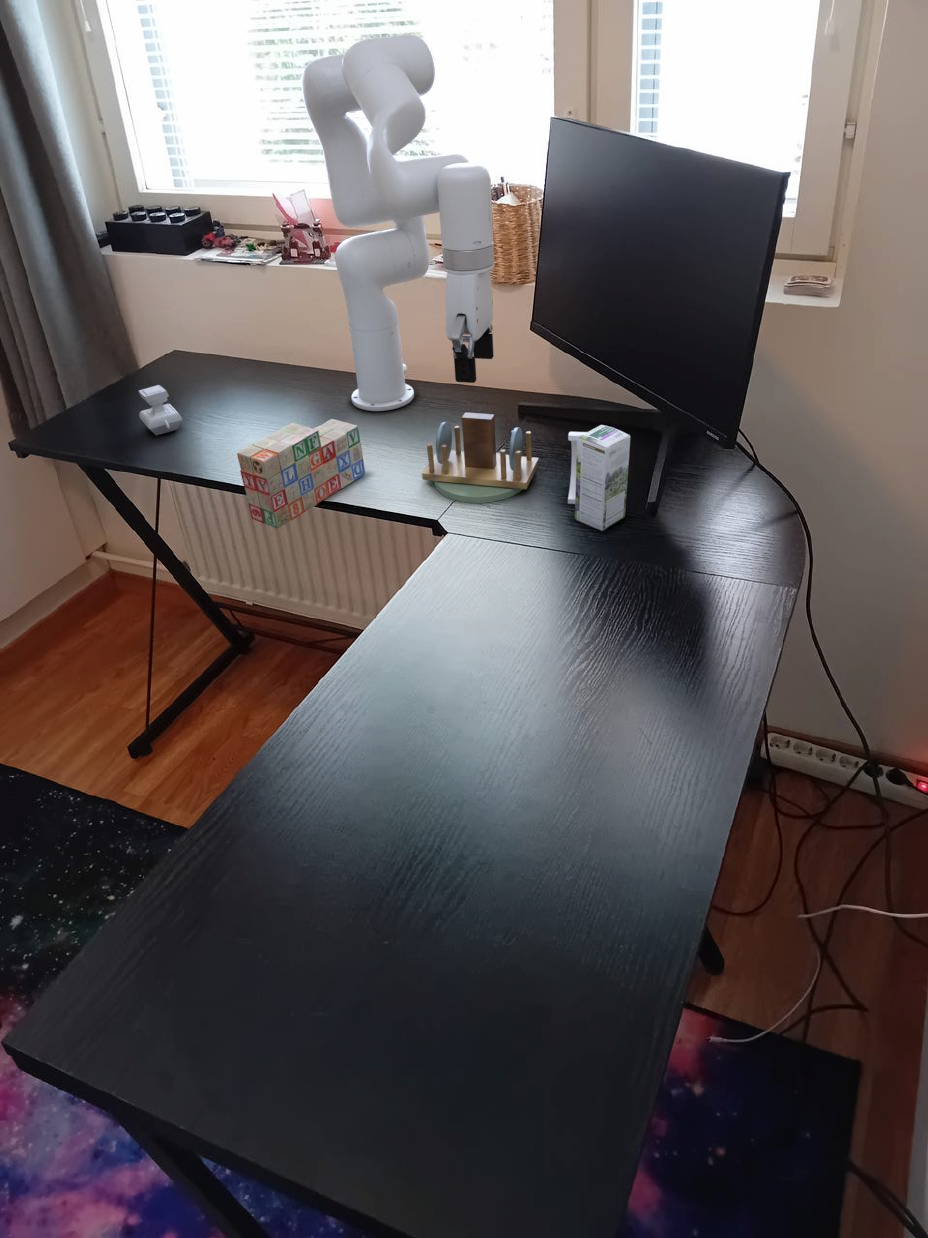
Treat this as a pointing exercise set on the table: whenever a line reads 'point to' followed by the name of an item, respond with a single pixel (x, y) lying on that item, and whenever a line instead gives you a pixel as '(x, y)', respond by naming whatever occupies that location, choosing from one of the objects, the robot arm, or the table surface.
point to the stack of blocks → (299, 469)
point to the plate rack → (480, 455)
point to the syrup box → (601, 476)
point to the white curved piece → (573, 465)
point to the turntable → (474, 492)
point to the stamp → (159, 411)
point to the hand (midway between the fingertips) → (475, 369)
